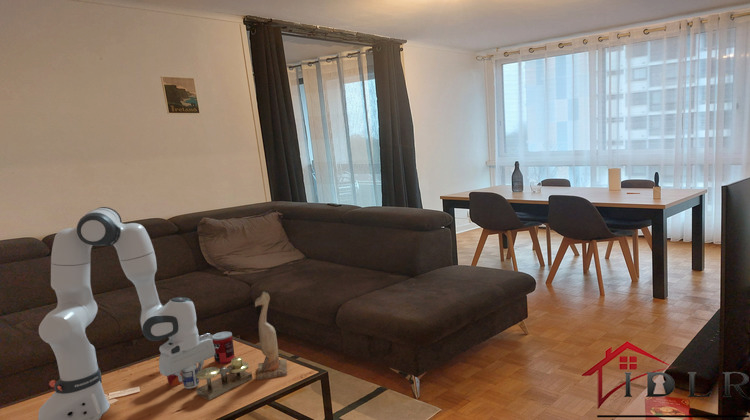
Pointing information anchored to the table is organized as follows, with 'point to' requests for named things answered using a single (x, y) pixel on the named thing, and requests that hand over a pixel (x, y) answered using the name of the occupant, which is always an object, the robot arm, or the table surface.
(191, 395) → the table surface
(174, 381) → the paper cup
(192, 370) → the pill bottle
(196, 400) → the table surface
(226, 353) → the canned food
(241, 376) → the balance
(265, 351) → the bird sculpture
